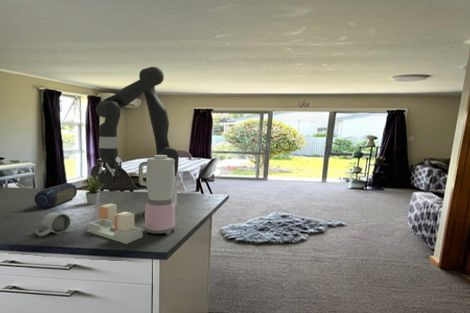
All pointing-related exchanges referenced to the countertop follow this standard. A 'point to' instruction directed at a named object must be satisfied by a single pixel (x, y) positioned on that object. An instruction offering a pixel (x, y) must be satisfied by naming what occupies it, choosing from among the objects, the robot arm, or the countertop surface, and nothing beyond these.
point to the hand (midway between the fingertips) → (108, 183)
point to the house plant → (92, 191)
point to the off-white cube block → (108, 211)
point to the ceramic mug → (54, 224)
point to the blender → (159, 194)
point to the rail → (111, 234)
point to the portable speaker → (55, 195)
